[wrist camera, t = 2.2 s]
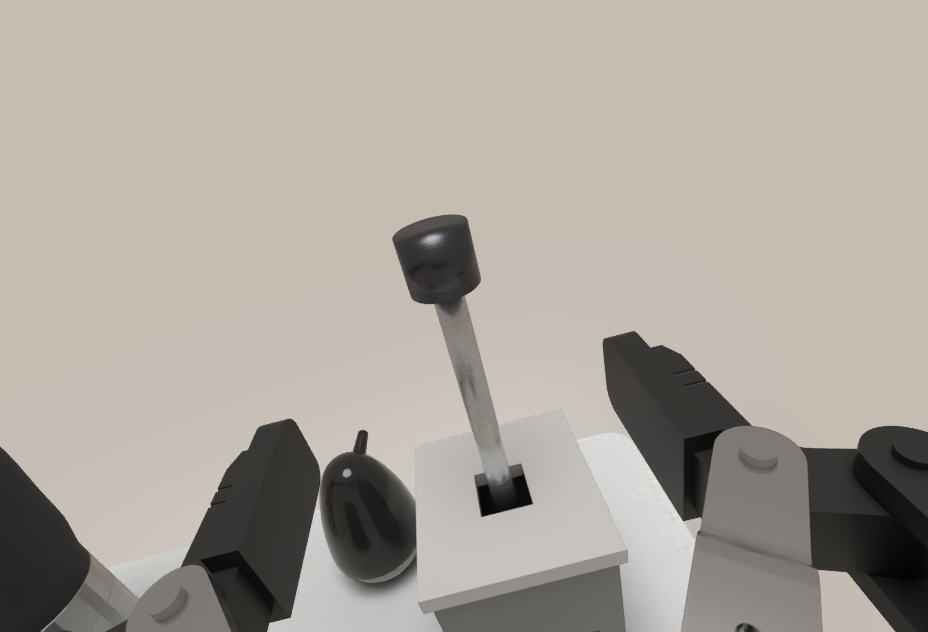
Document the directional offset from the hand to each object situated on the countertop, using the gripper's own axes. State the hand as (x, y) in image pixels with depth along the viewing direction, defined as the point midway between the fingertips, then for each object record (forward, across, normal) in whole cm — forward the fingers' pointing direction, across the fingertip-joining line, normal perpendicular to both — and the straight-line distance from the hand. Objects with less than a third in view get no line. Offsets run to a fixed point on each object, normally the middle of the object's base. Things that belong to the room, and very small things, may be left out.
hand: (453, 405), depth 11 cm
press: (+13, 0, +38) cm, 40 cm away
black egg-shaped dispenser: (+24, +15, +38) cm, 48 cm away
